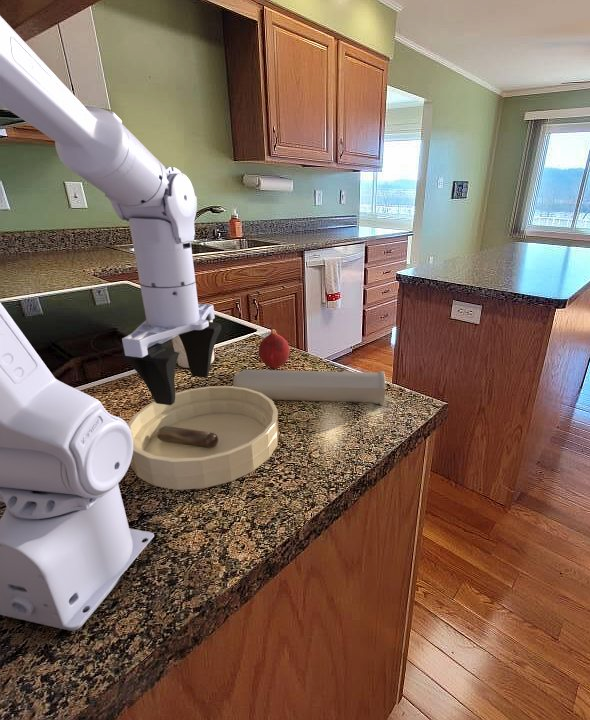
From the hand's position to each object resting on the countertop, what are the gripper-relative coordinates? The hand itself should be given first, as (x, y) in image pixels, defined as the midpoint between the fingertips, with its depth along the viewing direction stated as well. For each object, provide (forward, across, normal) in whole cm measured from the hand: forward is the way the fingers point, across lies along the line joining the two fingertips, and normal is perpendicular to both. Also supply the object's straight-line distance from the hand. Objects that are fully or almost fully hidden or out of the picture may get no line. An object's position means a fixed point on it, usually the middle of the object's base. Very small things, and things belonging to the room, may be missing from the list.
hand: (184, 388), depth 50 cm
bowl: (+8, 0, -2) cm, 9 cm away
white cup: (+9, +25, +14) cm, 30 cm away
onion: (+9, +26, -2) cm, 27 cm away
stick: (+8, 0, 0) cm, 8 cm away
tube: (+9, +16, -12) cm, 21 cm away
